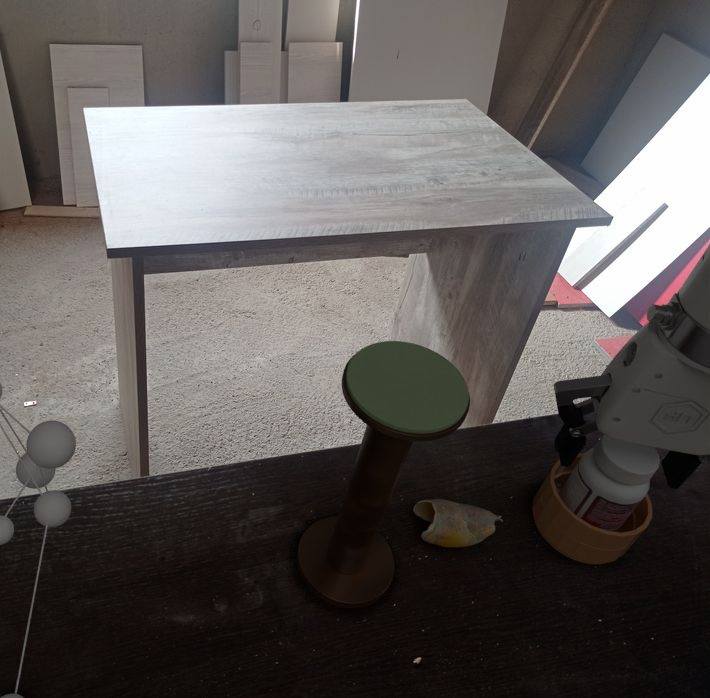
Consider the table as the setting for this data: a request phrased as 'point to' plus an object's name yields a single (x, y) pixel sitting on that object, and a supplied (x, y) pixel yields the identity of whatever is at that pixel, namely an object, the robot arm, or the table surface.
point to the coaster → (407, 387)
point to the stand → (360, 519)
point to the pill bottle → (610, 482)
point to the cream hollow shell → (455, 523)
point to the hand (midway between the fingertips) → (615, 465)
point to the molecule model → (40, 484)
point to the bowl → (583, 523)
